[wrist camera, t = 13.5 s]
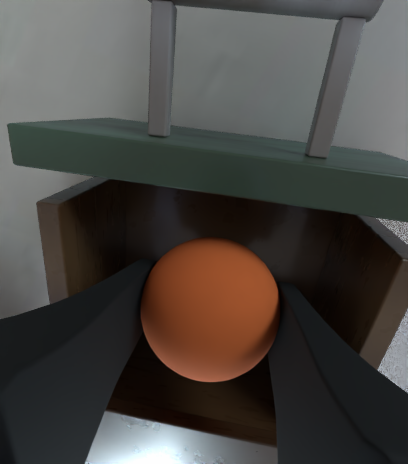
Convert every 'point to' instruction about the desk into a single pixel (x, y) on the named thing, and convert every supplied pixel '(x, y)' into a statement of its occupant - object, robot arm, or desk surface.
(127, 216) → the drawer
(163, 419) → the cabinet
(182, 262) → the ball
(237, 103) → the desk surface
